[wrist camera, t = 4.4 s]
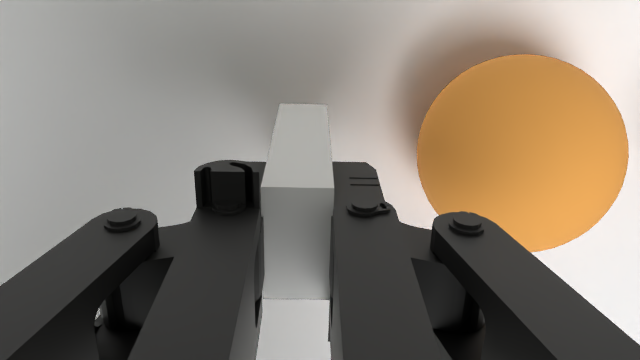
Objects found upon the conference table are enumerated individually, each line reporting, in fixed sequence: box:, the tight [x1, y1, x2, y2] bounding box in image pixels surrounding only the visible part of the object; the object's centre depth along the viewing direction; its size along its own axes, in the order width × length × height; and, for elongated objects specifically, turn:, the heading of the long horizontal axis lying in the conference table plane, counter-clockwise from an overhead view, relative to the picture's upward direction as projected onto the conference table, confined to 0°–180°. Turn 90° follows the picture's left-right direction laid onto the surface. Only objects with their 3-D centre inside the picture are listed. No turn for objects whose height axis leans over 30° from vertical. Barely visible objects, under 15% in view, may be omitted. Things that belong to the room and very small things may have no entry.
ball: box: [417, 54, 629, 252], centre depth 16 cm, size 6×6×6 cm
